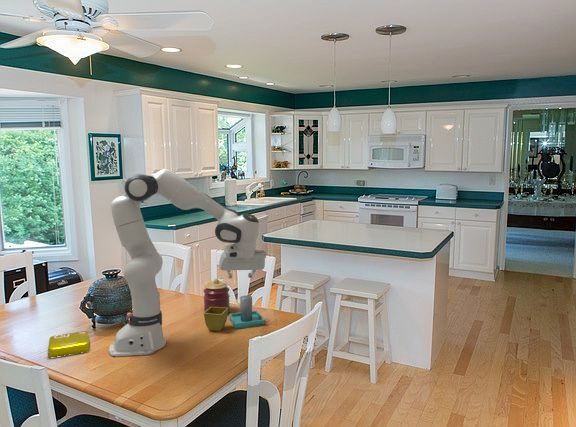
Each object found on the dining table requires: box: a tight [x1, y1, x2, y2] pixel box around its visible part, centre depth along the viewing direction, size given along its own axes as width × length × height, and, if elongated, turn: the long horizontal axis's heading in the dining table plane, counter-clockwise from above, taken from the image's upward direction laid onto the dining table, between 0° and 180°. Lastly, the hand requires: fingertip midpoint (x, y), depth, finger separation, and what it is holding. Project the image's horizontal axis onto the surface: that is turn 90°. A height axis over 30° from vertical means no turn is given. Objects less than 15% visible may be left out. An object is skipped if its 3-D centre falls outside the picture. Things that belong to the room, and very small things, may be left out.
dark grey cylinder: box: [239, 294, 253, 322], centre depth 213 cm, size 6×6×11 cm
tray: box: [228, 310, 266, 330], centre depth 214 cm, size 14×14×2 cm
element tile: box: [47, 330, 91, 358], centre depth 186 cm, size 15×15×5 cm
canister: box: [203, 278, 231, 314], centre depth 226 cm, size 13×13×18 cm
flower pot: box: [203, 307, 229, 332], centre depth 205 cm, size 9×9×9 cm
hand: (239, 277), depth 200 cm, fingers open, 8 cm apart
